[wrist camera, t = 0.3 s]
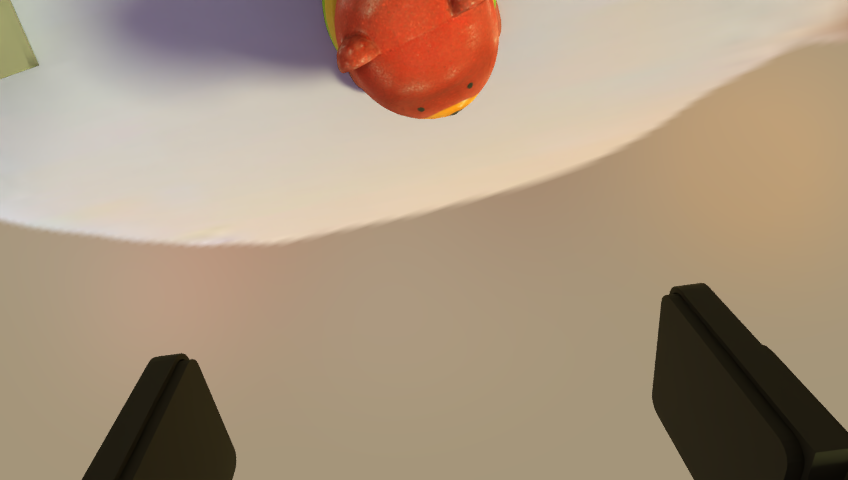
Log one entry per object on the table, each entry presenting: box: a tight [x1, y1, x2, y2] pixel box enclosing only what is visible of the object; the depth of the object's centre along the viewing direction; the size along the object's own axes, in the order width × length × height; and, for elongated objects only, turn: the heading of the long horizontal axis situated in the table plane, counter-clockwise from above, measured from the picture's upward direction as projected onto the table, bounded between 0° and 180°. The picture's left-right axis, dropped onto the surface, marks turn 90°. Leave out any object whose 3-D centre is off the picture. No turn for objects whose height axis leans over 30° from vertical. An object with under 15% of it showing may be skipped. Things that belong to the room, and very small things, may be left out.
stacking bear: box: [322, 0, 501, 119], centre depth 28 cm, size 11×10×18 cm
